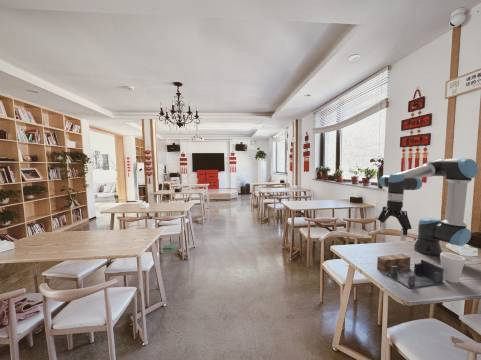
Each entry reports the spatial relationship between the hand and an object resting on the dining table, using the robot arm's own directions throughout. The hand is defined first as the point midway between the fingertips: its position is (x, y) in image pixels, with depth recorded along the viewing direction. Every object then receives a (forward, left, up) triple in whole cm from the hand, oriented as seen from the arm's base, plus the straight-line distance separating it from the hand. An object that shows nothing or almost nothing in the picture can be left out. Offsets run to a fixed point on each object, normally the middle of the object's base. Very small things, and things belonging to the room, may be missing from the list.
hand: (392, 236), depth 130 cm
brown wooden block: (-1, +1, -19) cm, 19 cm away
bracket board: (-1, +14, -19) cm, 23 cm away
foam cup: (-20, +18, -19) cm, 33 cm away
